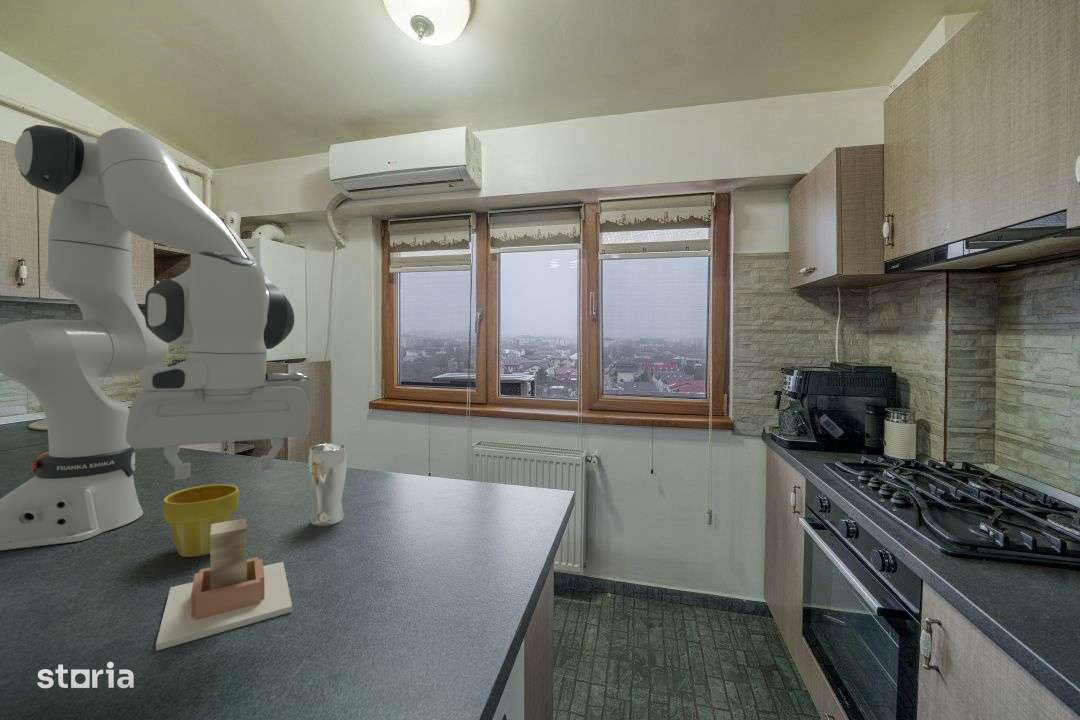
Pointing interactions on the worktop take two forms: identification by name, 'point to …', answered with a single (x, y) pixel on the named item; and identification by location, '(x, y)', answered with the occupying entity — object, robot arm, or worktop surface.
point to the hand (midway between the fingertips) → (226, 473)
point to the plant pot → (198, 515)
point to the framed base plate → (223, 604)
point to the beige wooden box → (228, 553)
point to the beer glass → (327, 482)
